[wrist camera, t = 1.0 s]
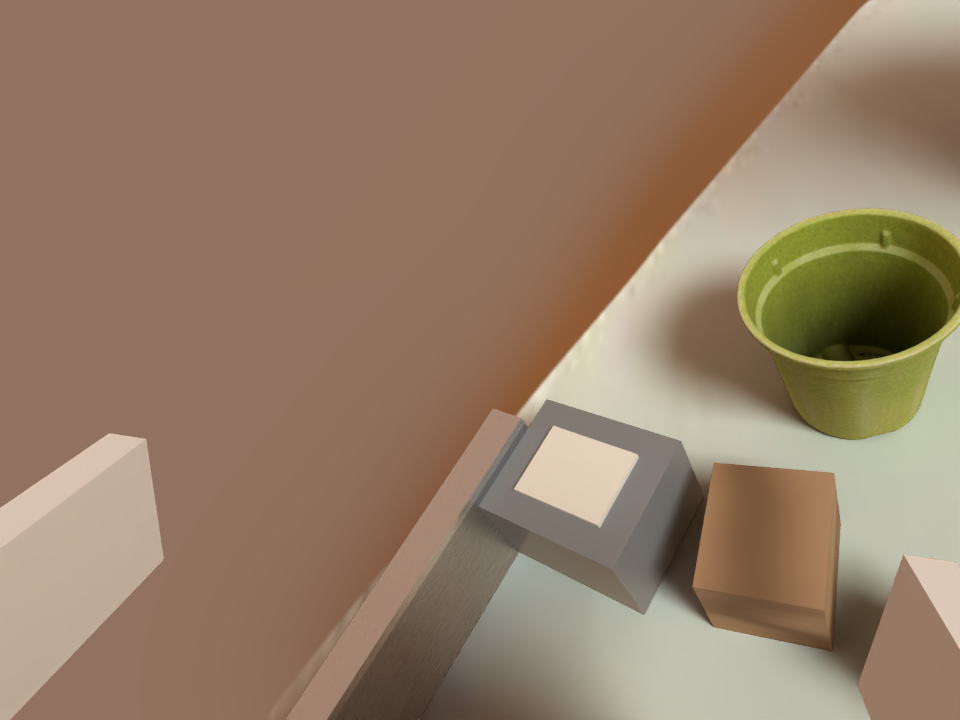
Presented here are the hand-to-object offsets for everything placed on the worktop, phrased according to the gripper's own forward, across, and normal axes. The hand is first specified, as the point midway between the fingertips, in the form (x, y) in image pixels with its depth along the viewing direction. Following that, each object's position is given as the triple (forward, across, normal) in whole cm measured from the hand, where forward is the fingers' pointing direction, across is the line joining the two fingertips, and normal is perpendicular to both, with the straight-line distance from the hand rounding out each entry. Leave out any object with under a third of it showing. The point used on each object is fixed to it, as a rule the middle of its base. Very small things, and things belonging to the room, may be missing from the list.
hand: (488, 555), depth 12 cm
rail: (+18, -5, -22) cm, 28 cm away
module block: (+23, +3, -15) cm, 27 cm away
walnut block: (+19, +11, -13) cm, 26 cm away
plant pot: (+27, +16, -7) cm, 32 cm away
